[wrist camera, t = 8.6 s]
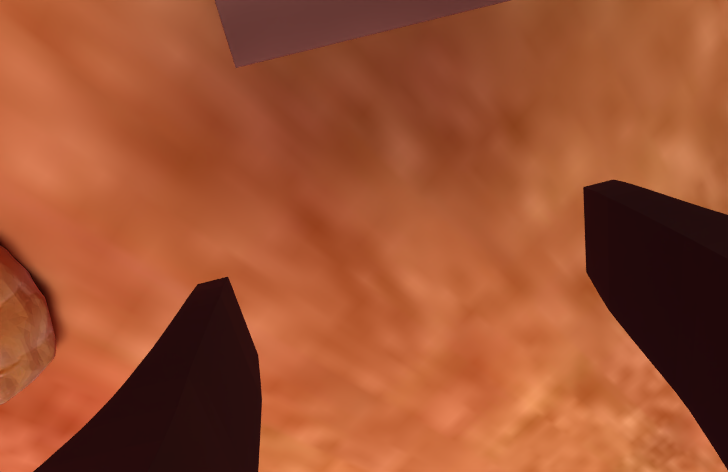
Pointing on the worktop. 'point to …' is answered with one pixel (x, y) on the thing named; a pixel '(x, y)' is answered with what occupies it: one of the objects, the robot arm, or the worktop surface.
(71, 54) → the worktop surface
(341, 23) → the base
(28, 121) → the worktop surface
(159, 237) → the worktop surface
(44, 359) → the pastry
